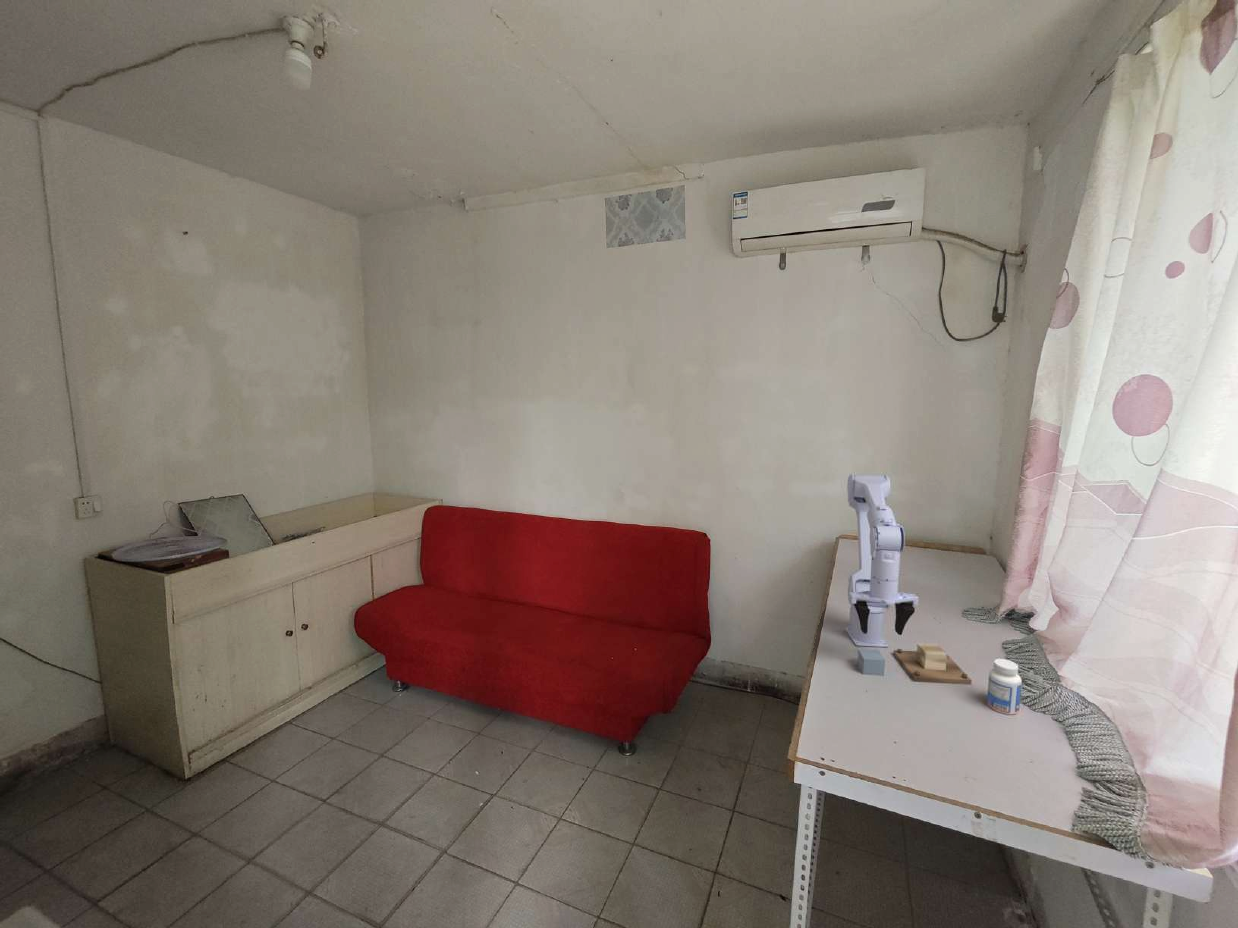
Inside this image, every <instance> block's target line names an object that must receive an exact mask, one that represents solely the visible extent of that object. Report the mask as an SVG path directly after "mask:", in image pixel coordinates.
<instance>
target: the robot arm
mask: <svg viewBox="0 0 1238 928" xmlns="http://www.w3.org/2000/svg"><path fill="white" fill-rule="evenodd" d="M846 486H847V502H848V506H849V507H850V508H853V509H854V510H855V514H856V518H857V542H858V546H857V547H858V563H859V564H858V567H859V569H858V570H856V571H855V572H853V573H851V574H850V576H849V578H848V586H847V600H848V603H849V604H850V607H849V623H848V624H849V625H848V627H847V626H846V627H845V631H846V632H847V634H848V635H849V638H850V639H851V640H852V642H853V643H854V645H855V646H858V647H876V648H877V647H879V648H889V644H888V642H886V640H885V639H884V638H883V636H884V623H885V622H884V621H885V618H884V617H885V613H886V612H887V610H888V609H890V608H891V607H892V606H895V607H894V608H895V621H894V631H895V633H897V635H899V636H902V635H903V632H904V629H905V627H906V625H907V623H908V621H909V620H910V619H911V617H912V616H913V614H915V612H916V608H915V607H914V606H919V597H918V596H917V595H916V594H914V593H905V592H898V591H899V580H900V579H899V578H900V577H899V576H900V562H901V552H903V551H904V549H905V545H906V537H905V536H906V535H905V530H904V527H903V525H900V523H899V524H898V523H897V522H896V518H895V514H894V512H893V510H892V508H890V507H889V506H888V505H886V504H887V502H888V499H889V496H890V495H891V479H890V477H889V476H888V475H887V474H884V475H878V474H877V475H875V474H873V475H871V474H853V473H851V474H849V476H848V477H847V485H846Z"/></svg>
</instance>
